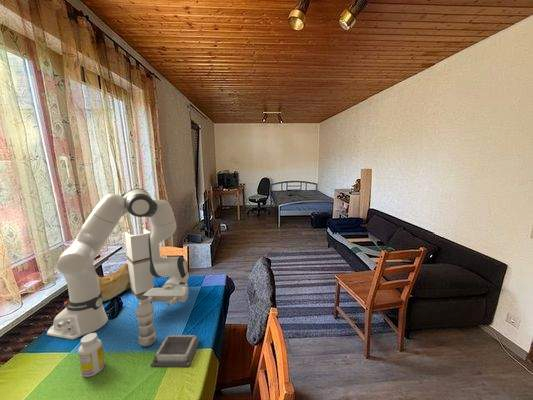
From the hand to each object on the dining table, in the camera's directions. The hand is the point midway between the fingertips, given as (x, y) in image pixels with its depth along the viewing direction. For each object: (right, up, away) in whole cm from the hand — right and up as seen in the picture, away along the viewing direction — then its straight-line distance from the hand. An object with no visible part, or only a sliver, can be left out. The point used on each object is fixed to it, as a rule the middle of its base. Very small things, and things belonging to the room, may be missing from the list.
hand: (158, 304), depth 107 cm
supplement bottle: (-13, -14, -22) cm, 29 cm away
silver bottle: (0, -12, -10) cm, 15 cm away
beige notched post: (-23, -6, +32) cm, 40 cm away
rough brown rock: (-40, -6, +30) cm, 51 cm away
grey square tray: (+14, -12, -15) cm, 24 cm away
